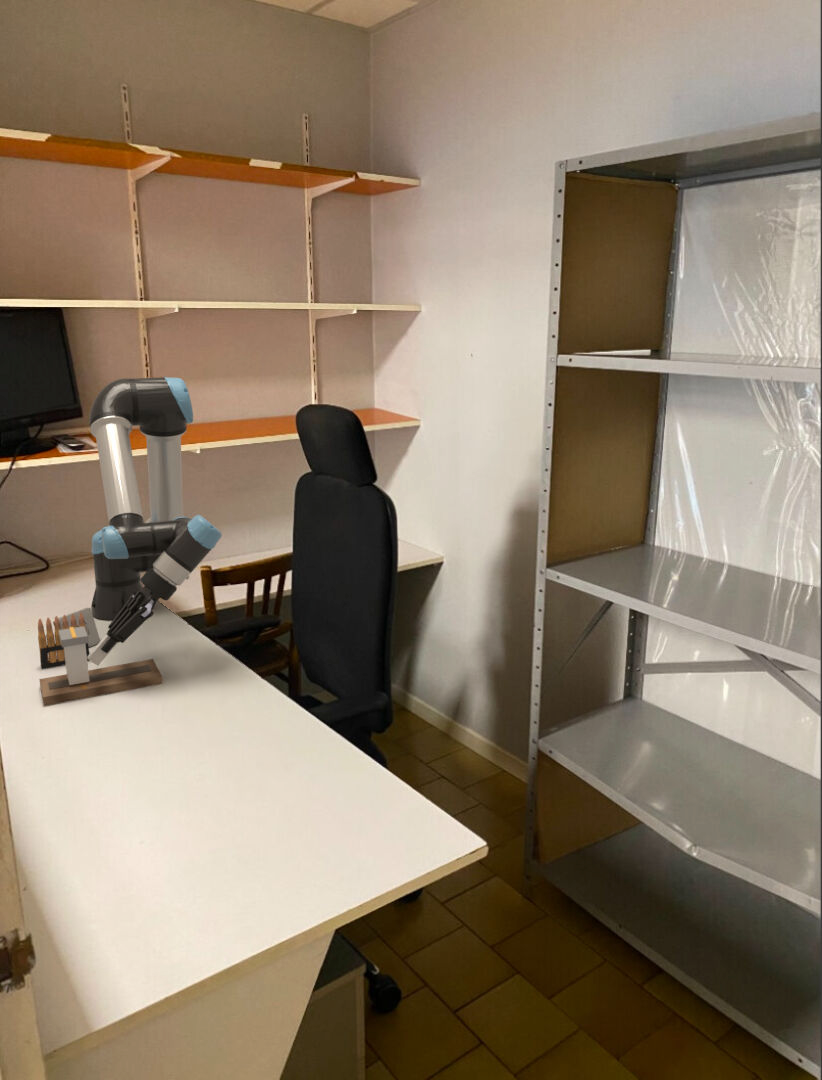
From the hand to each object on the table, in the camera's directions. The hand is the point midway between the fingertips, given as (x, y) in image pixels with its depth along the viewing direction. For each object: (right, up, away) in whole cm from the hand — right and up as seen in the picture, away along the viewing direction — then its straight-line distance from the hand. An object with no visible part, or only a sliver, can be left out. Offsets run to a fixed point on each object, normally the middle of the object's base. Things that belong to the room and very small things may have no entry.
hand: (92, 661), depth 179 cm
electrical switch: (-12, 0, +23) cm, 26 cm away
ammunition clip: (-11, -3, +14) cm, 18 cm away
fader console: (+1, -6, +2) cm, 6 cm away
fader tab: (-3, -4, 0) cm, 5 cm away
